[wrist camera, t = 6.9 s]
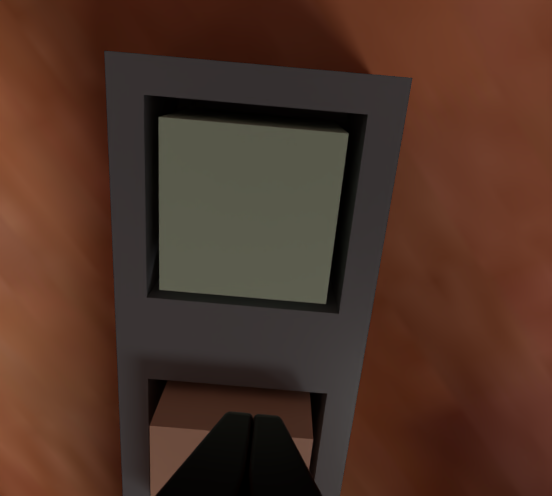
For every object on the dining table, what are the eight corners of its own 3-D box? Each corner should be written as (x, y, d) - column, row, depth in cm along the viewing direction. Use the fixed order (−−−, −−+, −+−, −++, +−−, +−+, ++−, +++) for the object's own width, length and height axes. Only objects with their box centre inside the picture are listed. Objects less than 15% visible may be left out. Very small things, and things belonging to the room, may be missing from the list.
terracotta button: (307, 360, 18) (313, 439, 14) (294, 460, 20) (297, 555, 16) (179, 349, 18) (149, 425, 14) (178, 450, 20) (151, 543, 16)
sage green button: (333, 120, 16) (348, 133, 12) (317, 254, 18) (325, 304, 14) (190, 107, 16) (158, 116, 12) (187, 243, 18) (159, 289, 14)
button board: (374, 78, 17) (412, 78, 12) (302, 566, 26) (306, 687, 21) (159, 59, 17) (104, 50, 12) (161, 555, 26) (130, 673, 21)
